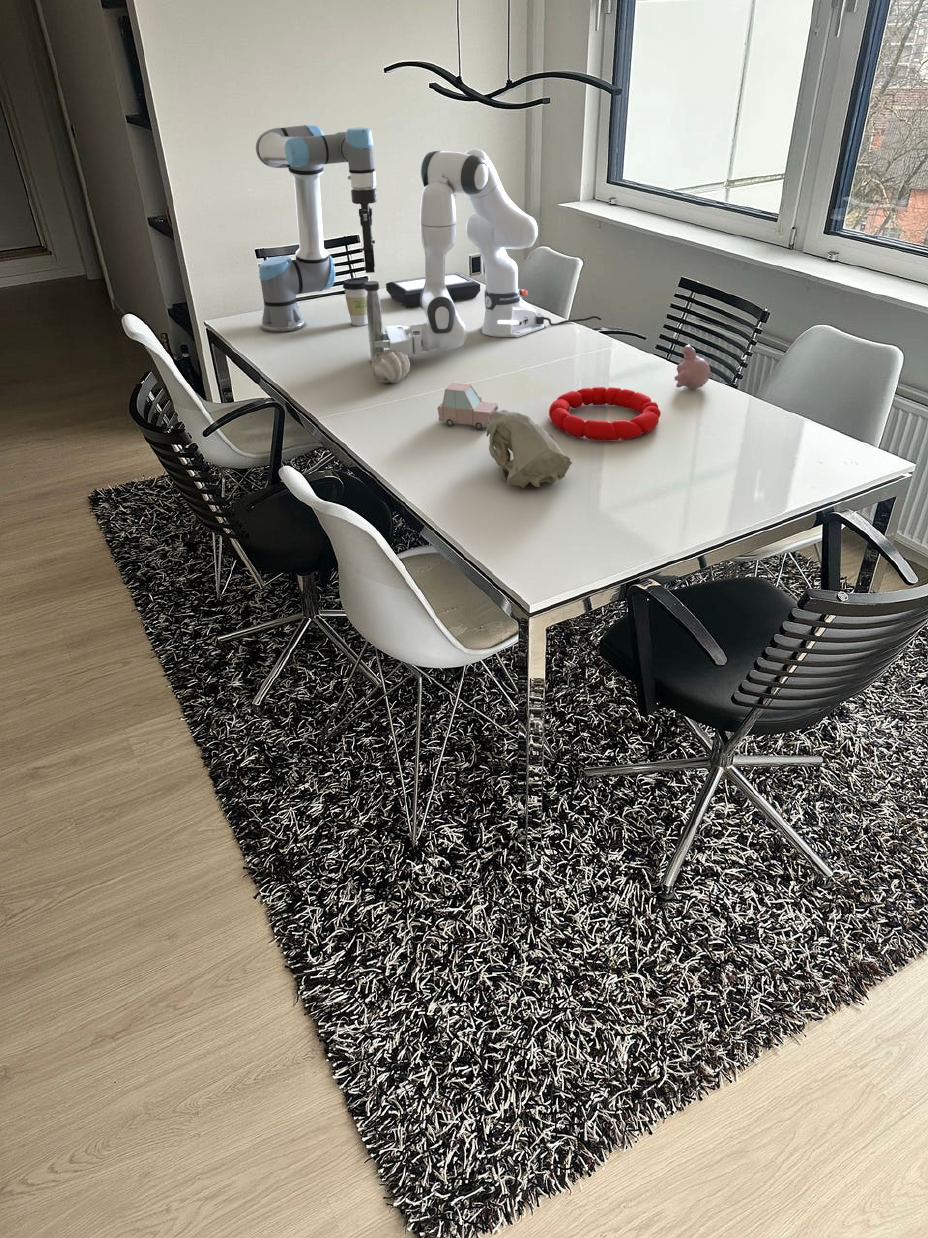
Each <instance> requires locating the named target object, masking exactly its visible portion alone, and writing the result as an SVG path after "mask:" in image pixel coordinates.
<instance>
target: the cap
mask: <svg viewBox="0 0 928 1238" xmlns="http://www.w3.org/2000/svg"><path fill="white" fill-rule="evenodd" d="M364 286H365V290H366V291H376V290H377V291H379V290H380V283H379V281H377V280H368V282H365V283H364Z"/></svg>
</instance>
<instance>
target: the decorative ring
mask: <svg viewBox="0 0 928 1238" xmlns="http://www.w3.org/2000/svg"><path fill="white" fill-rule="evenodd" d="M583 405H584V406H586V407H587V406H591V405H593V406H604V405H608V406H614V407H619V408H624V409H628V410H632V411H635V412H636V413H638V414H639V415H637V416H635V417H632V418H631V419H630V420H625V419H624V420H623V419H622V420H614V421H611V422H609V421H607V420H606V421H605V420H593V419H587V420H586V421H585V419H584V418H582V417H579V416H577V415H573V414H571V413H570V410H571V409H579V408H581V407H582V406H583ZM548 416H549V419H550V422H551V423H552V425H553V426H554V427H555V428H556V429H558V430H559V431H561V432H563V433H567V434H568V435H569V436H573V437H576V438H580V439H582V438H583V437H585V438H586V439H587V440H591V441H601V442H602V441H603V442H608V441H609V442H610V441H611V442H612V441H615V442H616V441H618V440H630V439H634V438H638V437H641V436H642V434H647V433H650V432H651V431H653V430H654V429H655V428H656V427H657V426H658V424H659V422H660V421H659V420H660V417H661V410H660V408H659V405H658V403H657V402H656V401H652V399H651V397H649V396H648V395H646V394H644V393H642V392H635V391H634V390H632V389H628V388H624V389H622V388H620V387H613V386H612V387H611V386H610V387H608V388H606V387H604V386H594V387H585V388H584V387H583V388H580V389H578V390H571V391H568V392H565V393H563V394H561V395H560V396H558V397H557V398H556V400H554V401H552V403H551V404H550V407H549V409H548Z"/></svg>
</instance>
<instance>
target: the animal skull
mask: <svg viewBox="0 0 928 1238" xmlns="http://www.w3.org/2000/svg"><path fill="white" fill-rule="evenodd" d="M485 436H486V438H487V437H489V438H488V440H489V444H488V445H489V446H488V450H489V454H490V456H491V457H492V458H493V459H494V460H495V462H496V464H497V466H499V468H500V470H501V471H502V472H501V478H502V479H507V480H506V484H507V486H517V487H518V486H519V488H523V489H524V488H526V486H527V485H529V483H531V485H533V486H534V487H536V488H540V485H541V484H542V482H544V483H549V484H550V485H553V484H555V483H556V482H557V480H561V479H563V478H565V476H566V474H567V472H568V471H569V469H570V467H571V466H572V464H573V462H572V461H571V458H570V457H568V456H567V455H565V453H564V451H562V449H561V448H560V446H559V444H557V443H556V439H555V438H554V436H553V435H551V434H550V433H548V432H547V431H546V430H545V429H544V428H542V427H541V426H539V425H538V424H537V423H536V424H535V422H534V421H533V419H532V418H531V417H530V416H529V415H527V414H524V413H519V412H515V411H509V410H507V409H502V410H500V411H499V410H497V411H496V412H492V413H491V414H490V422H488V423H487V427H486V435H485ZM511 453H512V454H511ZM511 455H512V457H513V458H512V460H511ZM507 474H508V475H507Z"/></svg>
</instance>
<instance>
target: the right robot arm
mask: <svg viewBox="0 0 928 1238" xmlns="http://www.w3.org/2000/svg"><path fill="white" fill-rule="evenodd" d="M420 176H421V182H422V185H423V189H422V193H421V198H420V208H419V229H420V230H419V231H420V238H421V239H420V240H421V244H422V248H423V251H424V256H425V259H424V260H425V277H426V279H425V285H424V287H423V290H422V292H421V296H420V304H421V306H420V307H421V309H422V310H423V311H424V314H425V315H426V322H419V323H410V324H409V326H407V325H403V324H402V325H386V326H385V327H384V332H383V341H380V340H377V341H374V345H375V347H382V348H384V349H389V350H396V351H401V352H402V353H403V354H404V353H405V354H407V356H412V355H413V356H415V357H418V356H421V355H422V354H423V352H424V353H425V352H429V351H433V350H436V351H447V350H452V349H457V348H460V347H461V346H463V345H464V343H465V340H466V336H467V327H466V324H465V322H463V320H462V318H461V317H460V315H459V313H458V311H457V308H456V305H455V304H454V303H455V302H454V301H452V299H451V297H450V294H449V292H448V289H447V287H446V285H445V274H446V258H447V254H448V252H450V251H451V250H452V249H453V248H454V246H455V243H456V237H457V209H456V201H455V200H456V197H457V194H461V195H462V194H465V195H466V196H467V197H468V200H469V202H470V205H471V207H472V209H473V211H474V212H471V214H470V215H469V216H468V218H467V220H466V224H465V231H466V236H467V238H468V240H469V241H470V242H471V243H472V244H473V245H474V246H475V247H476V249H477V251H478V252H479V254H480V257H481V258H482V263H483V266H484V276H485V277H484V279H485V289H484V309H485V310H484V318H483V324H482V328H481V333H482V334H484V335H486V336H490V337H496V338H497V337H498V338H520V337H523V336H525V335H528V334H531V333H534V332H537V331H539V330H542V329H544V328H545V327H544V324H545V321H548V325H550V326H552V327H553V326H559V325H560V326H561V325H562V324H566V323H574V322H584V321H588V320H593V319H597V320H599V321H602V318H601V316H598V315H591V316H588V317H582V318H574V319H565V320H561V321H559V322H556V323H553V322H552V321H551V318H549V317H545V316H544V315H543V314H541V312H537V310H536V309H535V308H534V307H533V306H531V305H530V304H529V303H528V302H526V301H525V300H524V299H523V297H527V296H528V290H527V289H520V288H519V285H518V283H519V268H518V264H517V263H516V261H514V259H512V258H511V257H510V256H509V255H508V253H507V250H506V249H510V250H524V249H530V248H531V247H532V246H533V245H534V243H535V242H536V241H537V238H538V232H539V229H538V224H537V221H536V220H535V218H534V217H532V216H530V215H529V214H527V213H525V211H523V210H522V209H520V208H519V207H518V206H517V205H516V204H515V203H514V202H513V201H512V200H511V198H510V196H508V194H507V193H506V191H505V189H504V187H503V185H502V182H501V179H500V177H499V175H498V172H497V170H496V168H495V167H494V164H493V163H492V161H491V159H490V158H489V156H488V155H487V154H486V152H484V150H482V149H479V148H472V149H468V150H467V151H465V152H460V151H442V150H433V151H429V152H428V153H427V154H426V155H424V158H423V159H422V162H421V164H420ZM522 296H523V297H522Z"/></svg>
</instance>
